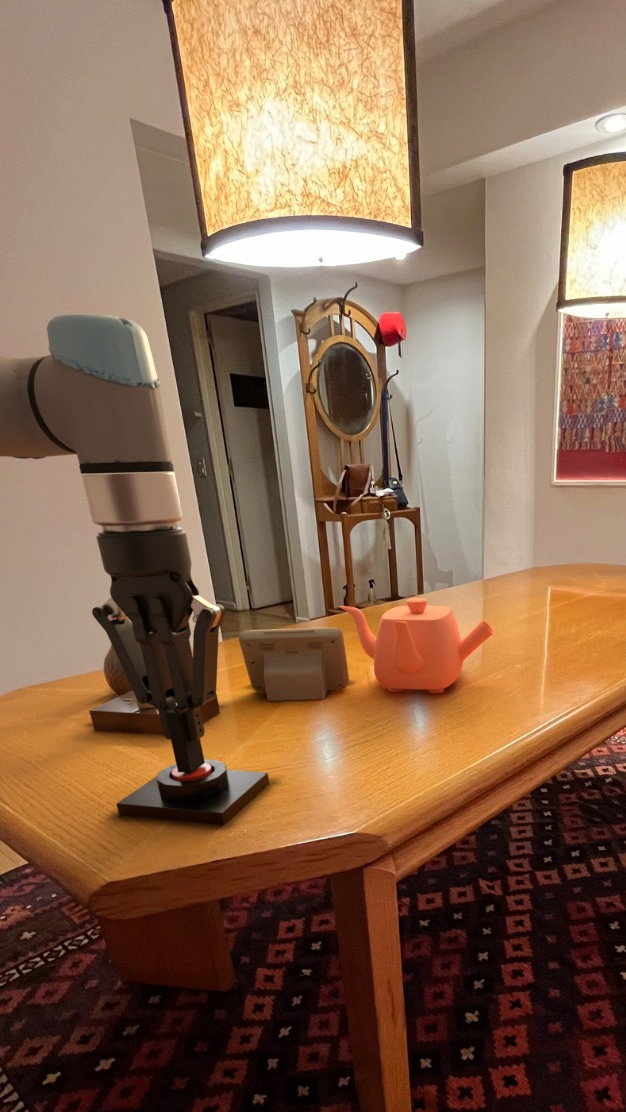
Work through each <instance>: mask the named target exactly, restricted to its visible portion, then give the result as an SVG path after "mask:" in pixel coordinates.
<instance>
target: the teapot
mask: <svg viewBox="0 0 626 1112" xmlns="http://www.w3.org/2000/svg"><path fill="white" fill-rule="evenodd" d="M405 602H406V605H399V606H395V607H393V608H391V609H388V610H387V611H385V612H384V613H383V614H382V616H381V618H380V621H379V625H378V629H377V632H376V636H375V634H373V633H372V631H371V629H370V627H369V625H368V622H367V619H366V617H365V615H364V613H363V612H362V611H361V609H359V608H357V607H354V606H348V605H339V608H341V610H344V611H345V612H346V613H348V615H349V616H350V617H351V618H352V620H353V622H354V625H355V628H356V632H357V635H358V640H359V643H360V646H361V648H362V650H363V651H364V653H365V654H366V655H367V656H368V657H369V658H370V659H372V660H373V672H374V676H375V679H376V680H377V682H378V684H379V686H380V687H382V688H386V689H388V691H389V692H391V693H400V692H404V691H405V690H427V692H428V693H429V694H441V693H444V692H445V689H446V688H448V687H450V686H451V685H452V684H454V683H455V681H457V679H458V678H459V675H461V671H462V669H463V665H464V661H465V660H466V659H467V658H468V657H469V656H470V655H471V654H473V652H474V651H476V650H477V649H478V648H479V647H480V646H481V645H482V644H483V643H485V642H486V641H487V640H488V639H489V638H490V637H491V636H492V635H493V634H494V633H495V631H494V629H493V627H491V626H490V624H489V623H487V622H486V621H485V620H481V621H480V622H479V623H478V624H477V625H476V626H475V627H474V628H473V629H472V630H471V631H470V632H469V633H468V634H467V635H466V636H465V637H464V639H462V638H461V634H460V630H459V627H458V623H457V620H456V616H455V614H454V611H453V609H452V608H451V607H450V606H447V605H427V604H428V599H427V598H424V597H412V598H408V599H406V601H405Z"/></svg>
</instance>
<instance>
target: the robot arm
mask: <svg viewBox="0 0 626 1112" xmlns="http://www.w3.org/2000/svg"><path fill="white" fill-rule="evenodd" d="M46 332H47V339H48V351H49V355H44V356H33V357H24V358H23V357H19V358H18V357H8V356H0V457H8V458H14V459H20V460H25V459H27V460H28V459H32V460H33V459H34V460H40V459H44V458H46V457H58V456H59V457H60V456H72V455H76V456H77V460H78V465H79V466H78V468H79V472H80V474H81V479H82V484H83V488H84V493H85V497H86V501H87V506H88V509H89V513H90V514H89V515H90V518H91V522H92V523H93V524H94V525H96V526H100V527H101V530H102V531H98V532H97V535H96V536H95V537H96V541H97V546H98V549H99V553H100V557H101V562H102V567H103V570H104V571H105V573H106V574H107V575H109V576H110V582H111V584H110V588H109V594H110V597H109V599H108V600H107V601H105V602H104V604H102V605H98V606H95V607H93V608H92V611H91V613H92V616H93V618H94V619H95V620H96V621H97V623H98V624H99V625H100V626H101V627H102V629H103V630H104V631H105V633H106V635H107V637H108V639H109V641H110V645H111V644H112V646H113V648H114V650H115V652H116V655H117V657H118V659H119V661H120V663H121V665H122V668H123V670H124V672H125V674H126V676H127V679H128V681H129V683H130V685H131V687H132V690H133V692H134V694H135V696H136V698H137V700H138V702H140V703H141V704H145V703H148V704H150V705H153V706H154V707H155V708H156V709H157V710H158V712H159V715H160V720H161V724H162V729H163V733H164V735H163V736H164V737H165V739H166V740H170V742H171V743H170V744H171V747H172V752H173V757H174V760H175V764H176V765H177V769H178V772H183V773H192V772H193V771H194V770H196V769H197V768H199V767H200V766H201V765H203V764H204V763H205V761H204V759H205V756H204V752H203V747H202V741H201V738H204V736H205V732H206V731H205V726H204V723H203V721H202V716H201V710H200V707H201V706H202V705H204V704H206V703H208V702H209V701H211V700H213V699H214V698H215V697H216V694H217V681H218V680H217V679H218V661H219V660H218V659H219V658H218V657H219V634H220V633H219V631H220V627H221V625H222V622H223V620H224V617H225V615H226V608H225V607H224V606H223V605H222V604H220V603H217V604H214V605H213V604H212V603H211V602H209V601H207V600H206V599H205V598H203V597H202V596H201V595H200V591H199V588H198V586H197V585H196V583H195V582H194V580H193V578H192V572H191V571H192V558H191V553H190V548H189V542H188V536H187V532H186V530H184V529H183V527H179V526H178V524H177V522H180V521H181V520H182V519H183V513H182V507H181V501H180V495H179V491H178V485H177V479H176V473H175V468H174V464H173V459H172V453H171V448H170V442H169V437H168V431H167V425H166V419H165V413H164V407H163V403H162V397H161V389H160V387H161V381H160V378H159V377H158V374H157V371H156V366H155V362H154V358H153V353H152V350H151V347H150V343H149V339H148V335H147V333H146V332H145V330H144V329H143V327H141V326H140V325H139V324H138V323H136V322H135V321H133V320H130V319H127V318H125V317H120V316H114V315H110V314H100V313H66V314H60V315H56V316H54V317H52V319H50V320H49V322H48V323H47V325H46ZM192 614H193V616H192ZM191 617H192V618H191ZM190 618H191V619H192V622H193V623H194V624H195V625H194V627H193V639H192V646H191V642H190V641H191V640H190V638H191V635H192V631H191V625H190ZM176 703H177V705H176Z"/></svg>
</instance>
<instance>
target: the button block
mask: <svg viewBox="0 0 626 1112" xmlns="http://www.w3.org/2000/svg"><path fill="white" fill-rule="evenodd" d="M204 761H205V763H208V764H210V765H211V768H212V774H210V775H209V776H207V777H204V778H201V779H198V780H191V781H174V780H173V778H172V774H171V773H172V770H173V769H175V768H176V767H177V765H176V763H175V764H172V765H169V766H167V767H165V768H163V769H162V770H161V771H158V773H157V775H156V776H155V777H153V778H152V779H151V780H149V781H148V782H146V783H144V784H143V785H142V786H140V787H139V788H137V789H136V790H134V791H133V792H131V793H130V794H128V795H127V796H126V797H124V798H122V799H121V800H119V801H118V802H116V809H117V811H118V816H119V817H129V818H140V819H150V820H159V821H160V820H161V821H170V822H171V821H172V822H181V823H183V822H184V823H193V824H204V825H216V826H226V825H227V824H228V823H229V822H230V821H231V820H232V819H233V818H234V817H236V816H237V814H239V813H240V812H241V811H242V810H243V809H244V808H245V807H246V806H247V805H249V804H250V803H251V802H252V801H253V800H255V798H256V797H257V796H258V795H259V794H261V793H262V791H264V790H265V789H266V788H267V787H268V786H269V785H270V778H269V773H268V772H264V771H252V770H237V769H227V764H226V763H225V762H222V761H219V760H217V759H205V758H204Z"/></svg>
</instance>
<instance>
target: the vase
mask: <svg viewBox="0 0 626 1112" xmlns="http://www.w3.org/2000/svg"><path fill="white" fill-rule="evenodd" d="M103 660H104V661H103V675H104V678H105V680H106V683H107V685H108V686H109V688H110V689H111V690H112V691H113V692H114V693H115V694H117V695H119V696H121V695H123V694H126V693H128V692H130V691H132V687H131V685H130V683H129V681H128V679H127V676H126V674H125V672H124V670H123V668H122V665H121V663H120V661H119V659H118V657H117V655H116V652H115V650H114V648H113V646H112V644H111V643H110V647H109V650H108V651H107V653H106V655H105V658H104V659H103Z"/></svg>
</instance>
